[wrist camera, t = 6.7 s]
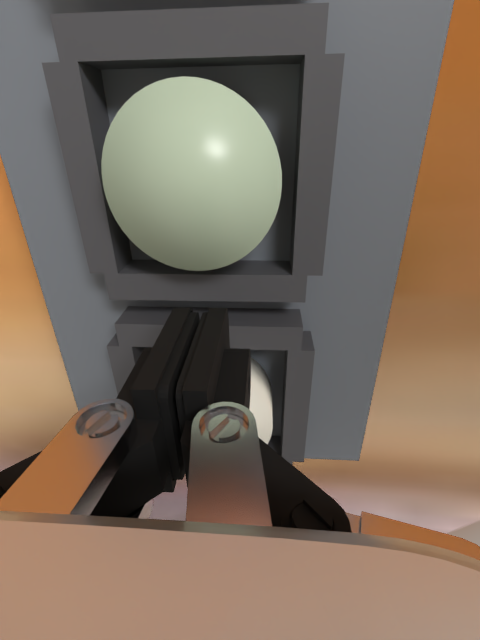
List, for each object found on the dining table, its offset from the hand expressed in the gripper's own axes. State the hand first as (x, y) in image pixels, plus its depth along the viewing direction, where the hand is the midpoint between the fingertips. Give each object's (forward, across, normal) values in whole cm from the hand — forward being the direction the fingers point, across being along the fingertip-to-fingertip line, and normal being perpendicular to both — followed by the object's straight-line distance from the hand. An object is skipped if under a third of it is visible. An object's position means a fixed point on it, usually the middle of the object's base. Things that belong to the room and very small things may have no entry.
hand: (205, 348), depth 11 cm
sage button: (+3, 0, -5) cm, 6 cm away
